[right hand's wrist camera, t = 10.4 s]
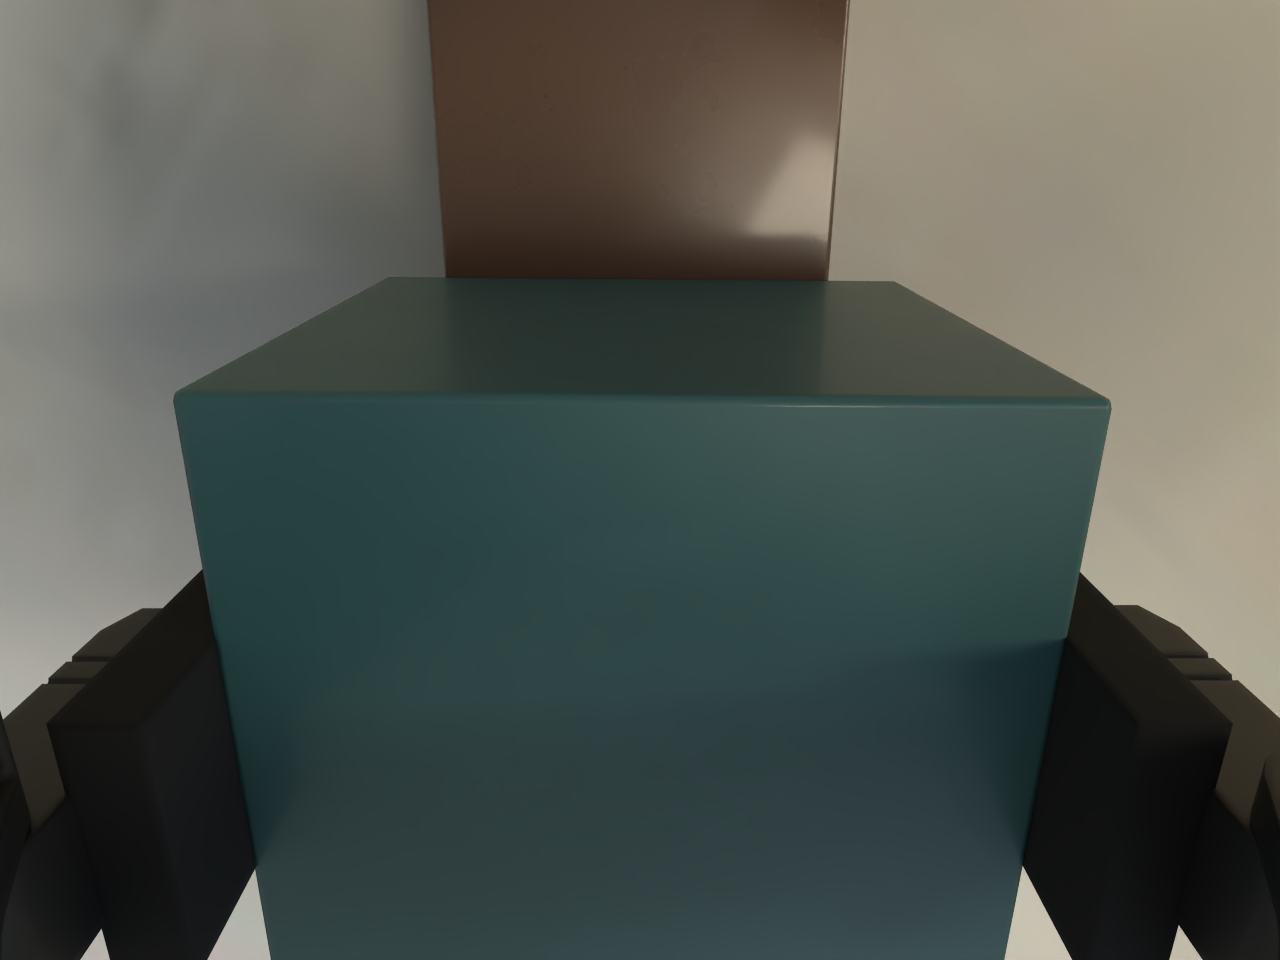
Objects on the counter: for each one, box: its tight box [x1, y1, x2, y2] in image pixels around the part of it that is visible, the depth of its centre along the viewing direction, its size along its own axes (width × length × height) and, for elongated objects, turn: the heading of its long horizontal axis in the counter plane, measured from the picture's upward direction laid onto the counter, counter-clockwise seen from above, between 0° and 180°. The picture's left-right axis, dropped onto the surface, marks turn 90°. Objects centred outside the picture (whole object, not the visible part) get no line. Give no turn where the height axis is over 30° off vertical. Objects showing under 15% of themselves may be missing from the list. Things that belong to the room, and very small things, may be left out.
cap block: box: [173, 277, 1111, 960], centre depth 12 cm, size 7×8×7 cm
